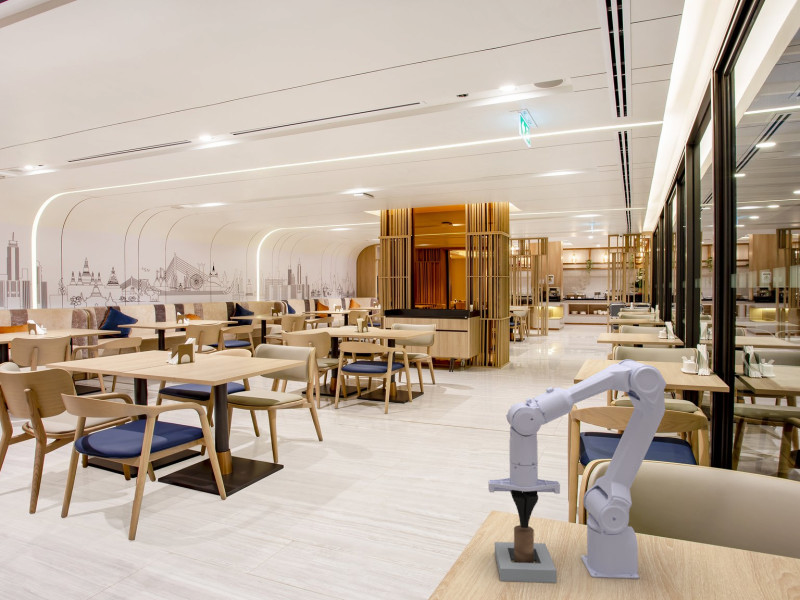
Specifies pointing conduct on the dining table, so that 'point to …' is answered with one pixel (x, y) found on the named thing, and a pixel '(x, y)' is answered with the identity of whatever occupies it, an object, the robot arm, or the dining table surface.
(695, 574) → the dining table surface
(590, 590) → the dining table surface
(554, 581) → the socket block
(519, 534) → the plug
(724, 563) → the dining table surface
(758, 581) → the dining table surface
